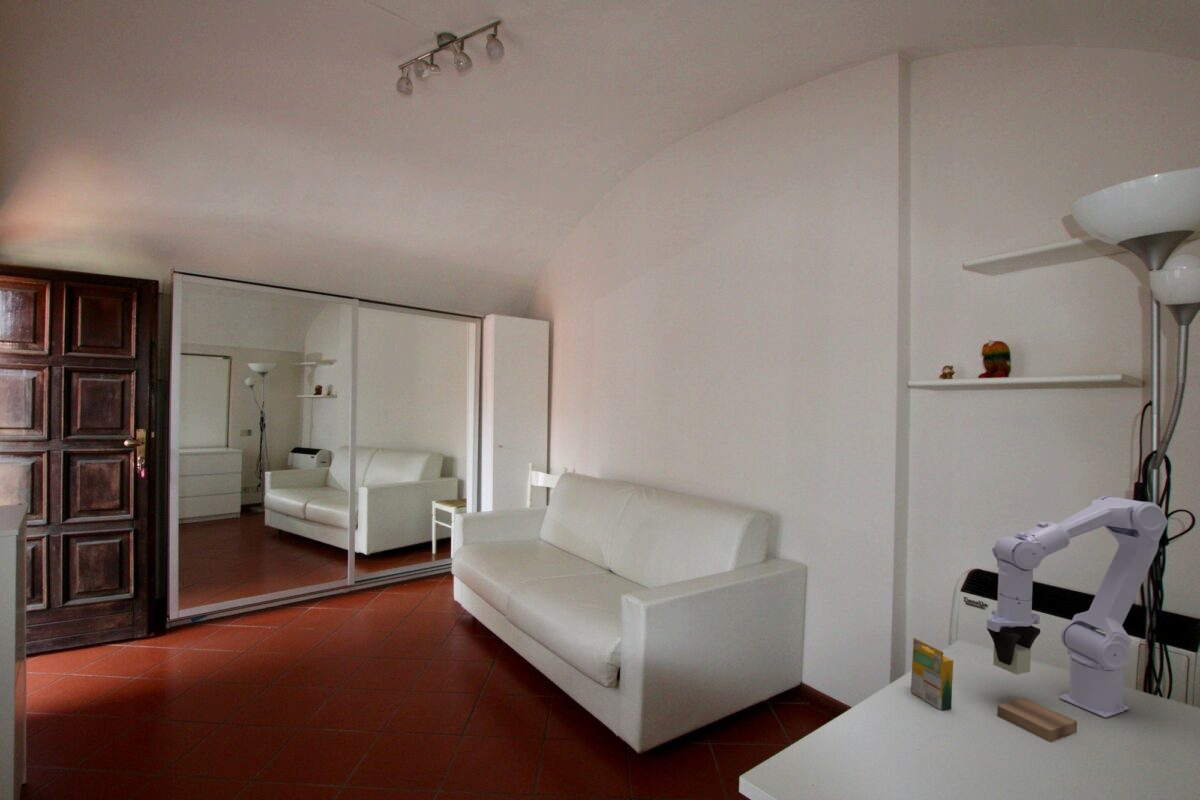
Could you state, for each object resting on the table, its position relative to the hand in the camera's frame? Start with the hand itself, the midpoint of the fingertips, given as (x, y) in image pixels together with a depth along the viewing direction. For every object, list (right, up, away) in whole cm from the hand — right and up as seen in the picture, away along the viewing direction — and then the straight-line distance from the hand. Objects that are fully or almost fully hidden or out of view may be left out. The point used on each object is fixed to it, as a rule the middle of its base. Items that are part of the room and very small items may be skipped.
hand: (1012, 661), depth 114 cm
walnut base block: (-2, -9, -8) cm, 12 cm away
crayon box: (-18, -8, -1) cm, 19 cm away
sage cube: (0, -2, 0) cm, 2 cm away
